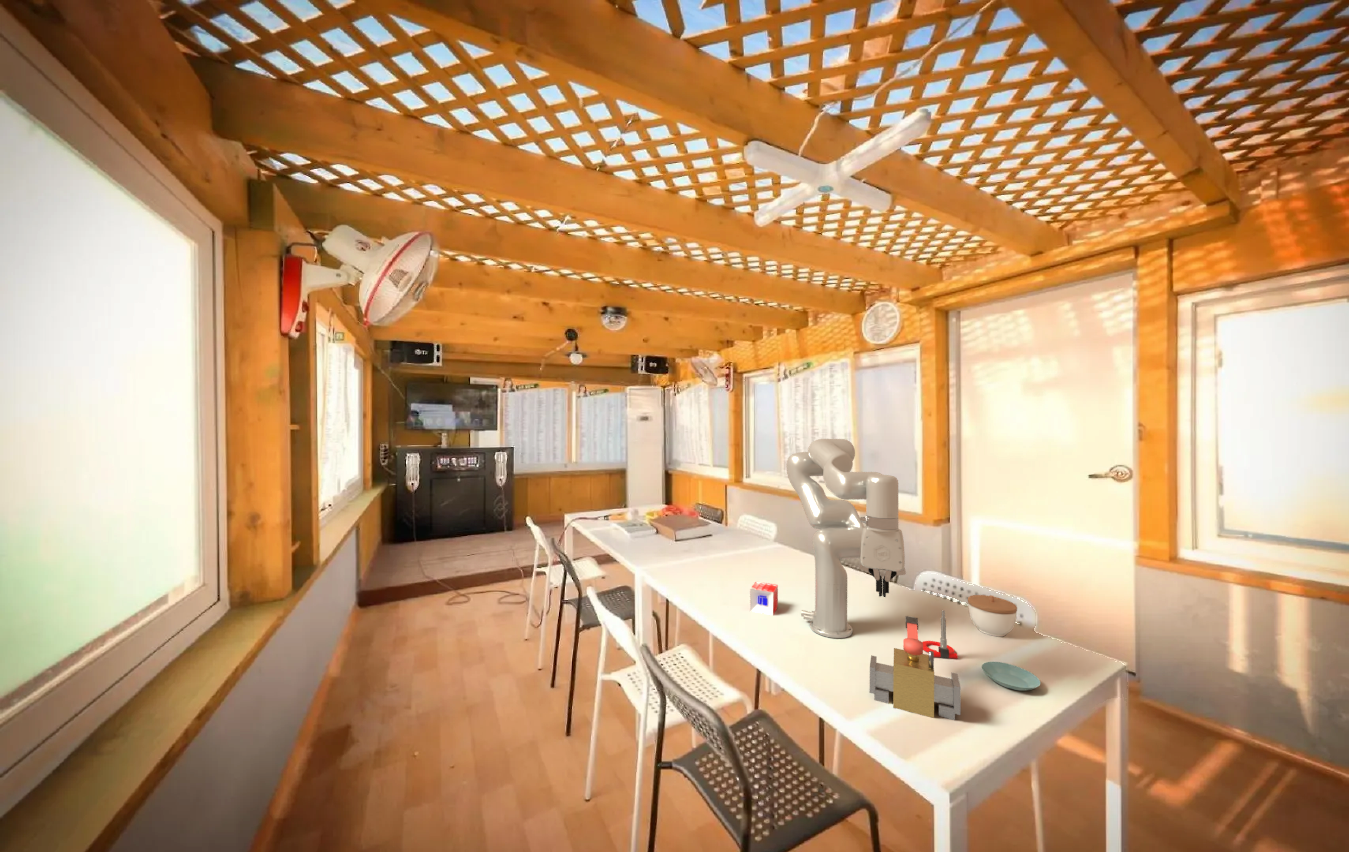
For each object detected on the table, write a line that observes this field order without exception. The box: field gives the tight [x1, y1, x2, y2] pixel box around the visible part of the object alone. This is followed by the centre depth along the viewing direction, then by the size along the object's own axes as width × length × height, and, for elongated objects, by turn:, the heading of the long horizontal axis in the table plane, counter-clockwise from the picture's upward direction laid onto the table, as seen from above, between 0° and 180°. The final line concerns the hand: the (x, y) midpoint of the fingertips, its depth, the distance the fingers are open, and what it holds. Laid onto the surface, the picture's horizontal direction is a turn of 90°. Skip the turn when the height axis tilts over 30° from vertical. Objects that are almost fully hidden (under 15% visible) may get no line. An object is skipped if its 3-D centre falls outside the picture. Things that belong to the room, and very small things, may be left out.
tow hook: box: [921, 609, 959, 660], centre depth 129 cm, size 8×13×9 cm
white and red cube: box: [749, 581, 779, 616], centre depth 157 cm, size 8×8×8 cm
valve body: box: [869, 647, 962, 721], centre depth 104 cm, size 18×8×14 cm, turn 63°
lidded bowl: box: [967, 594, 1018, 637], centre depth 141 cm, size 13×13×11 cm
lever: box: [902, 615, 924, 655], centre depth 110 cm, size 18×4×2 cm, turn 153°
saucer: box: [981, 661, 1041, 692], centre depth 113 cm, size 12×12×2 cm
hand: (882, 595), depth 116 cm, fingers closed
